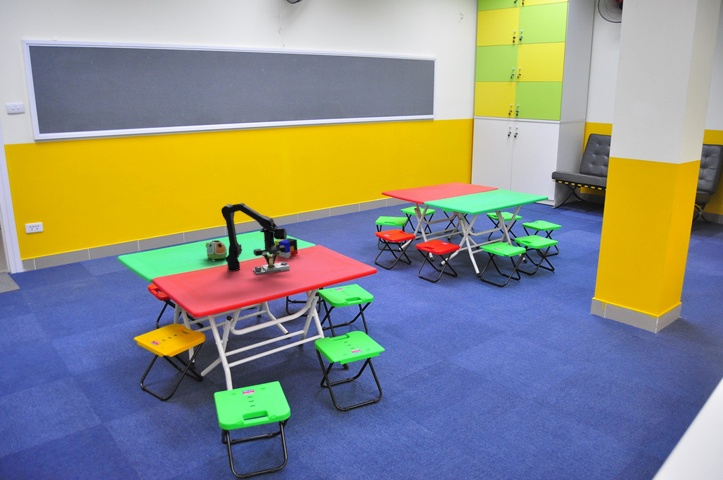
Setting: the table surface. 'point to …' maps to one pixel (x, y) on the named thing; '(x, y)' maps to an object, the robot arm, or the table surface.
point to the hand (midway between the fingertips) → (270, 264)
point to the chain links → (276, 268)
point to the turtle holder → (216, 250)
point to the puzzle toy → (287, 247)
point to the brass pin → (270, 261)
